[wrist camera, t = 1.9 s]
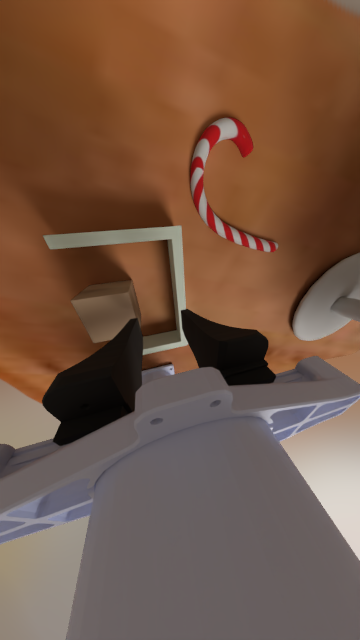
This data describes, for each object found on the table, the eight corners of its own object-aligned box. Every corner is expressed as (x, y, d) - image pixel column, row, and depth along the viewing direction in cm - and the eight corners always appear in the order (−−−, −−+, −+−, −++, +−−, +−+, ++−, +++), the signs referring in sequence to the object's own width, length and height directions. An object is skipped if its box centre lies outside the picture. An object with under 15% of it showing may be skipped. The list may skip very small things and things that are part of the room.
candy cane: (262, 271, 19) (175, 193, 13) (255, 269, 21) (173, 197, 14) (305, 215, 17) (224, 83, 10) (295, 217, 18) (216, 98, 11)
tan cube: (141, 314, 19) (140, 334, 15) (104, 320, 19) (93, 343, 14) (132, 279, 17) (128, 292, 13) (89, 285, 16) (70, 300, 12)
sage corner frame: (183, 333, 23) (187, 345, 20) (112, 347, 21) (108, 362, 19) (174, 228, 15) (181, 225, 12) (61, 236, 13) (42, 235, 11)
